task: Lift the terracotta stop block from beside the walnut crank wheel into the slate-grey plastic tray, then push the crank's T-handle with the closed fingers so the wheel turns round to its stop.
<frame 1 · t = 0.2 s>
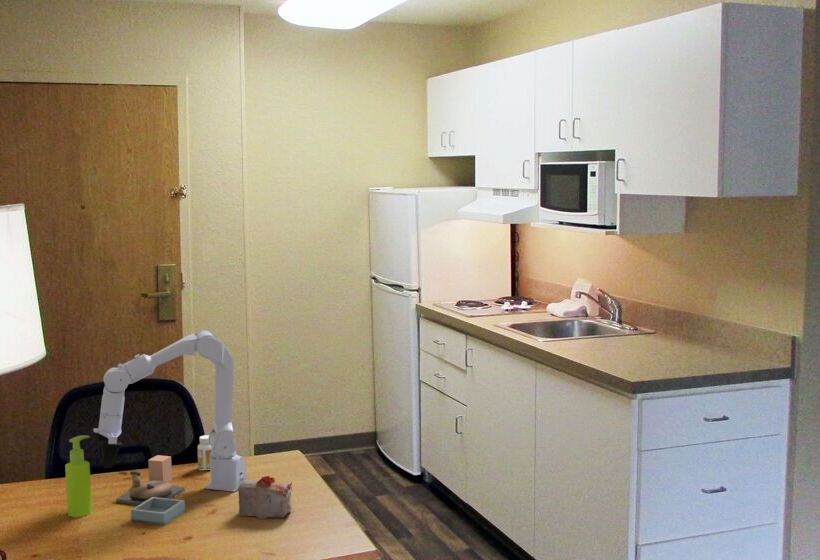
hand: (105, 463, 239), 11 cm above the table, tool pointing down, fingers open, 7 cm apart
tray: (158, 516, 230), on the table
soap dispenser: (81, 513, 233), on the table
supplement bottle: (207, 469, 267), on the table
stop block: (160, 482, 256), on the table
food item: (266, 515, 231), on the table
crank base: (151, 496, 244), on the table
crank: (150, 482, 244), point 4 cm above the table, hinge at 0.0°
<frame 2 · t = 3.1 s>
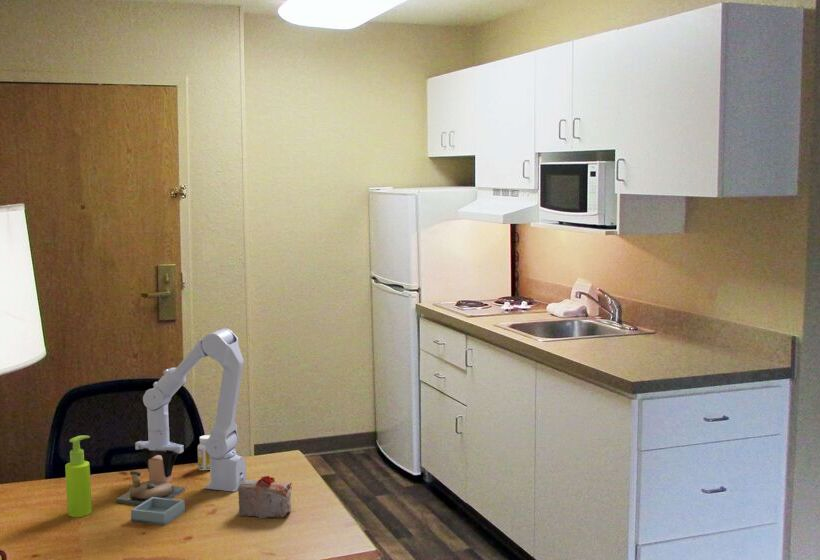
hand: (160, 475, 255), 2 cm above the table, tool pointing down, fingers closed on stop block, 4 cm apart
stop block: (160, 481, 256), on the table, touching gripper
everything else where it was.
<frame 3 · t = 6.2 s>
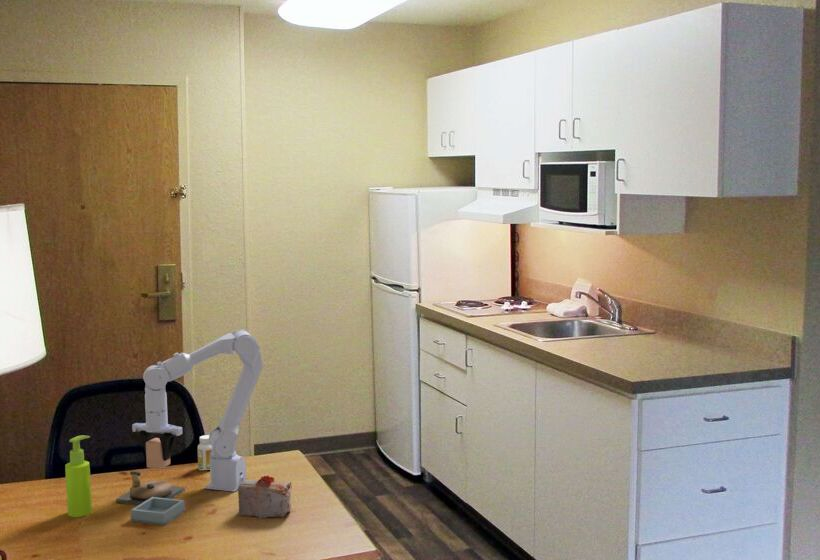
hand: (158, 458, 245), 10 cm above the table, tool pointing down, fingers closed on stop block, 4 cm apart
stop block: (158, 465, 245), point 8 cm above the table, touching gripper
everything else where it was.
when the fingers open (4 cm above the table, at t = 9.4 s): stop block drops 1 cm, resting on tray.
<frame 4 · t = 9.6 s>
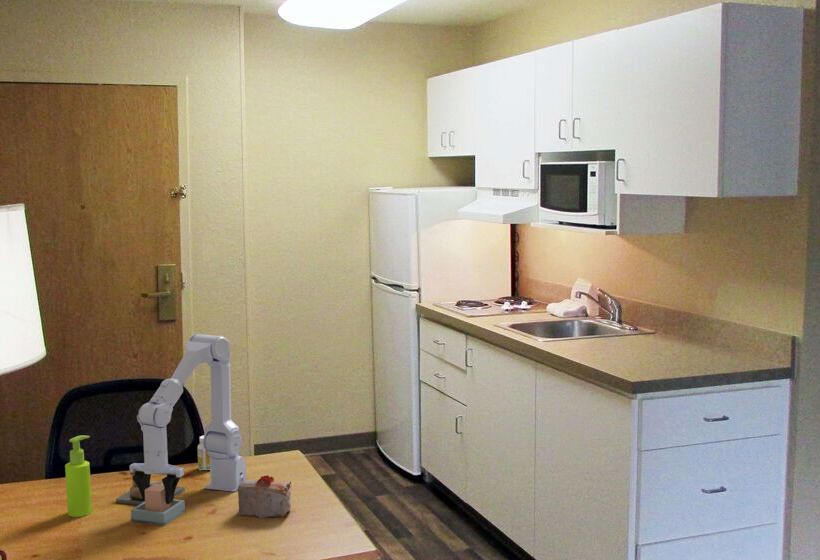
hand: (157, 501, 229), 4 cm above the table, tool pointing down, fingers open, 6 cm apart
stop block: (158, 514, 230), point 1 cm above the table, touching tray
everything else where it was.
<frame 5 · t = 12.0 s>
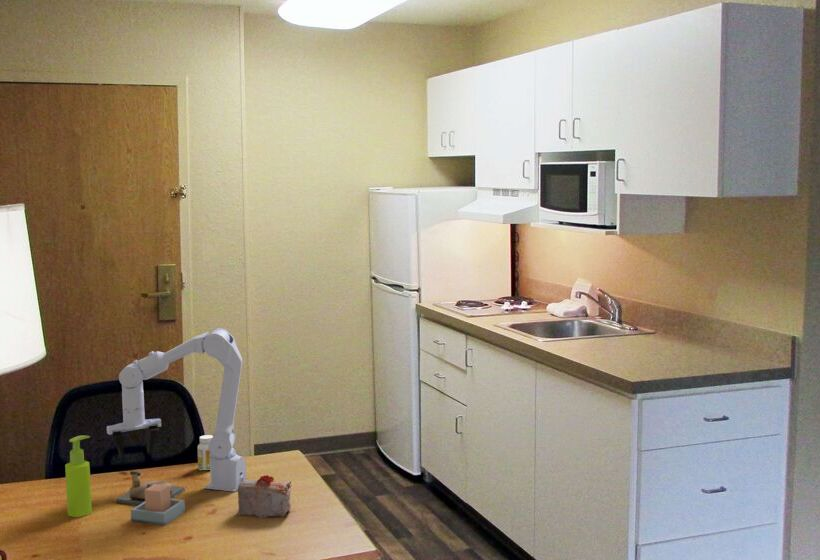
hand: (135, 455, 250), 9 cm above the table, tool pointing down, fingers open, 7 cm apart
nothing on the table moved.
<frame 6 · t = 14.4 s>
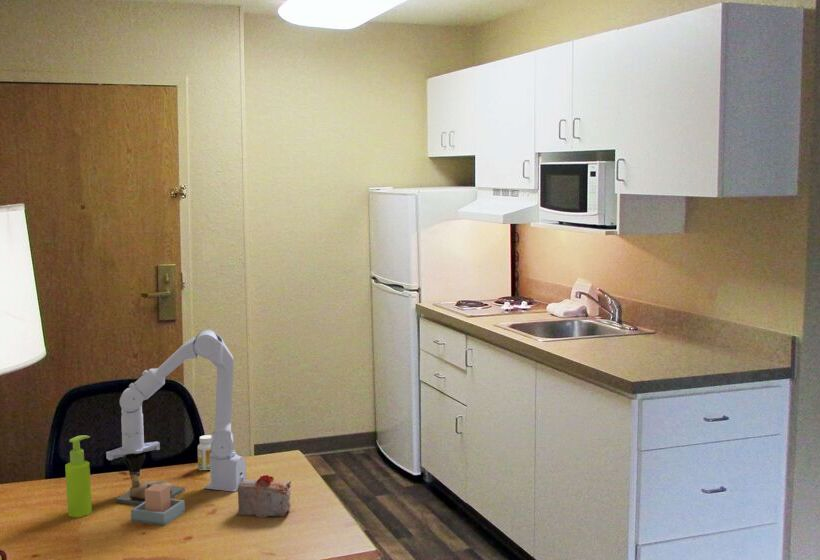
hand: (134, 479, 247), 4 cm above the table, tool pointing down, fingers closed
crank: (150, 482, 244), point 4 cm above the table, hinge at 3.8°, touching gripper
everything else where it was.
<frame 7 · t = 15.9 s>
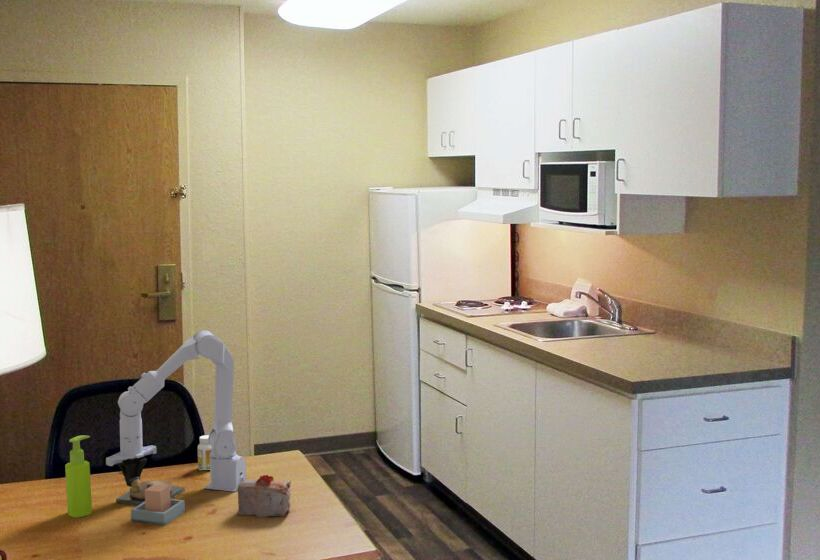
hand: (132, 485, 242), 4 cm above the table, tool pointing down, fingers closed
crank: (150, 482, 244), point 4 cm above the table, hinge at 64.1°, touching gripper
everything else where it was.
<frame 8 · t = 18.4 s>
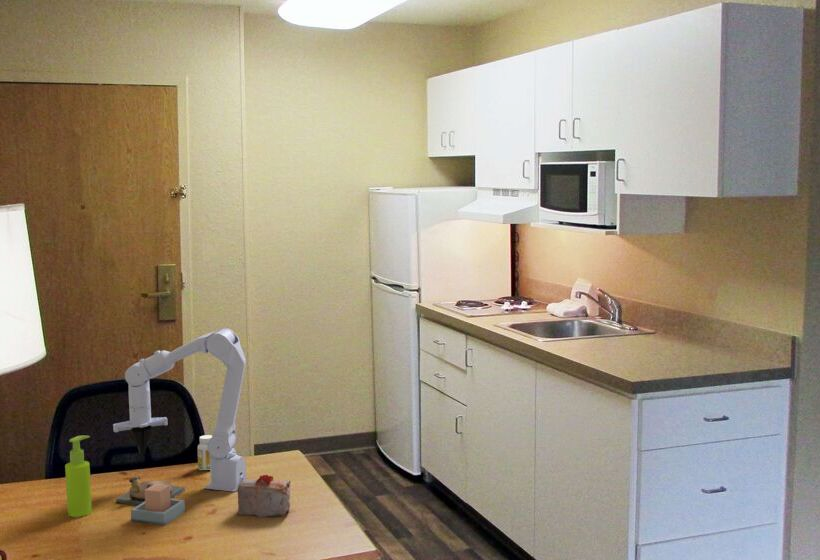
hand: (142, 453, 252), 9 cm above the table, tool pointing down, fingers closed
crank: (150, 482, 244), point 4 cm above the table, hinge at 63.7°
at the end: stop block 0.0 cm off-centre on the tray, point 0.6 cm above the tray's base; stop block tilted 0°; crank at +64° (first picture: +0°) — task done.
